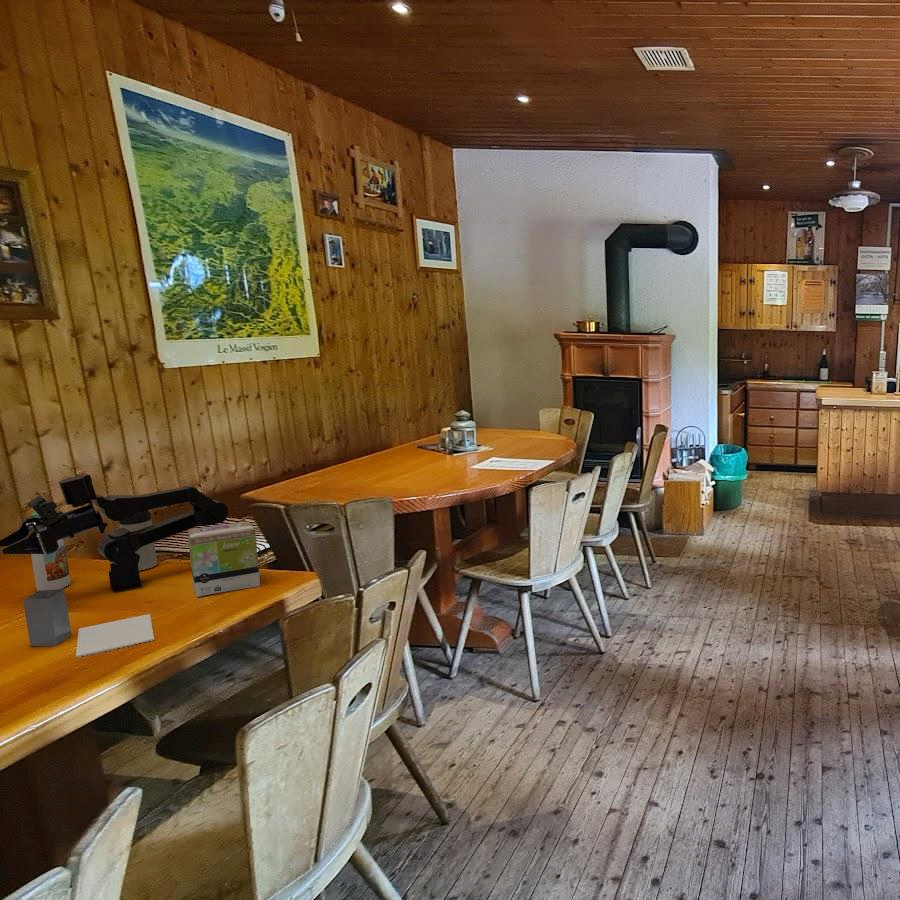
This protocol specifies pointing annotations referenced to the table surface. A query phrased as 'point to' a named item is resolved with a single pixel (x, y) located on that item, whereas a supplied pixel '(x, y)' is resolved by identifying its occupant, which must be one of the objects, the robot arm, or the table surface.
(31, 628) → the tin
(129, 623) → the mat
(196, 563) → the tea box
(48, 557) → the milk bottle
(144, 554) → the travel mug
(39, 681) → the table surface
